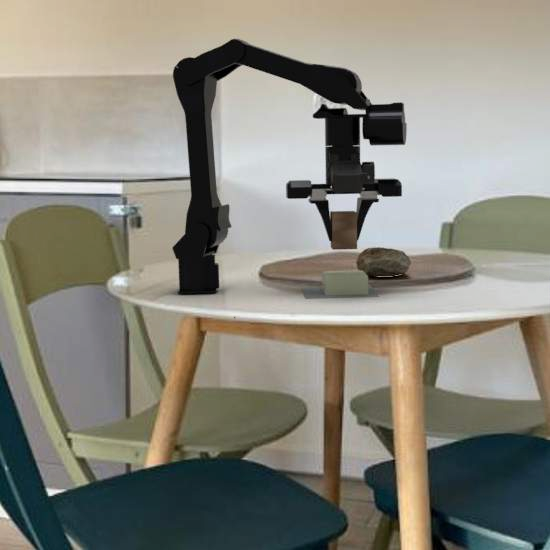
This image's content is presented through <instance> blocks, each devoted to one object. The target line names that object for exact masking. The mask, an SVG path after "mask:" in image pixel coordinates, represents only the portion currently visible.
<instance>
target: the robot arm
mask: <svg viewBox="0 0 550 550" xmlns="http://www.w3.org/2000/svg"><path fill="white" fill-rule="evenodd" d="M241 66H244V67H245V66H246V67H248V68H251V69H254V70H256V71H261V72H263V73H266V74H268V75H272V76H275V77H278V78H281V79H284V80H287V81H291V82H292V83H295V84H298V85H301V86H303V87H304V88H306V89H308V90H310V91H311V92H313V93H314V94H317V95H318V96H320V97H322V98H324V99H326V100H327V101H329V102H331V103H333V104H338V105H343V106H346V105H347V106H349V107H350V108H352V109H354V110H358V111H365V113H351V114H349V112H348V109H347V107H336V108H335V107H333V108H331V107H329V106H328V105H327V104H325V103H322V104H321V105H320V107H319V108H318V109H317V111H316V112H314V113H313V114H312V118H313V119H318V120H324V132H325V133H324V137H325V138H324V139H325V141H324V142H325V143H324V145H325V148H324V149H325V150H324V151H325V183H312V181H311V180H310V179H307V180H303V179H302V180H300V179H299V180H288V181H287V183H286V184H285V192H286V193H285V196H286V198H287V200H289V199H290V200H291V199H295V200H296V199H297V200H298V199H299V200H300V199H303V200H304V199H308V202H309V204H313V205H315V206H316V208H317V209H316V210H317V211H318V213H319V214H320V217H321V221H322V223H323V226H324V229H325V232H326V235H327V239H328V241H329V242H331V241H332V228H331V221H330V208H329V207H330V204H329V200H328V199H327V198H326V197H327V195H350V194H351V195H354V194H355V195H357V194H358V195H359V197H357V200H356V211H355V212H357V242H358V241H359V239H360V237H361V233H362V229H363V225H364V222H365V219H366V217H367V215H368V213H369V211H370V209H371V207H372V205H373V204H374V203H379V202H380V198H378V196H381V197H383V198H385V197H386V198H387V197H390V198H391V197H392V198H393V197H394V198H395V197H403V189H402V188H403V185H402V181H400V179H397V178H376V177H375V174H376V170H375V169H376V167H375V162H374V161H362V162H361V124H362V139H363V140H368V142H369V145H370V146H405V145H406V142H407V131H408V130H407V125H408V124H407V122H406V115H405V103H403V102H401V101H400V102H392V103H381V104H378V103H376V104H374V103H371V100H370V99H369V98H368V97H367V96H366V94H365V93H364V92H363V85H362V81H361V78H360V77H359V75H358V74H357V72H355V71H352V70H350V69H348V68H346V67H342V66H335V65H327V64H320V63H319V64H317V63H310V62H304V61H301V60H299V59H296V58H292V57H290V56H287V55H284V54H280V53H278V52H275V51H271V50H269V49H265V48H262V47H259V46H256V45H253V44H251V43H249V42H247V41H245V40H242V39H240V38H233V39H230V40H228V41H227V42H225V43H223V44H222V45H220V46H217V47H216V48H213V49H210V50H208V51H205V52H203V53H200V54H199V55H197V56H196V57H189V56H188V57H185V58H183V59H181V60H179V61H178V62H177V64H176V65H175V66H174V68H173V70H172V79H173V83H174V88H175V90H176V95H177V98H178V101H179V102H180V105H181V107H182V109H183V112H184V119H185V128H186V129H185V131H186V143H187V144H186V145H187V156H188V157H187V158H188V168H189V183H190V184H189V185H190V201H189V204H188V208H187V211H186V217H185V227H184V228H185V230H184V234H183V236H181V238H179V240H178V241H177V242H175V244H174V245H173V246H172V252H173V254H174V256H175V259H177V263H178V284H179V285H178V287H179V289H178V291H177V293H178V294H179V295H182V294H183V295H185V294H186V295H187V294H189V295H190V294H214V293H215V294H216V293H217V289H219V288H220V270H219V269H220V265H219V263H218V262H216V254H217V253H218V250H219V247H220V244H222V243H223V242H224V241H225V240H226V238H227V237H228V235H229V229H230V228H232V224H231V221H230V204H229V203H228V204H224V205H223V204H222V203H221V200H220V198H219V196H218V190H217V176H216V175H217V174H216V164H215V163H216V161H215V148H214V135H213V134H214V133H213V132H214V131H213V123H212V122H213V121H212V109H213V107H214V103H215V99H216V97H217V96H216V94H217V93H216V92H217V86H218V85H217V84H218V81H220V80H222V79H224V78H226V77H227V76H229V75H230V74H232V73H233V72H234V71H236V70H237V69H238V68H240V67H241ZM361 119H362V123H361Z"/></svg>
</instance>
